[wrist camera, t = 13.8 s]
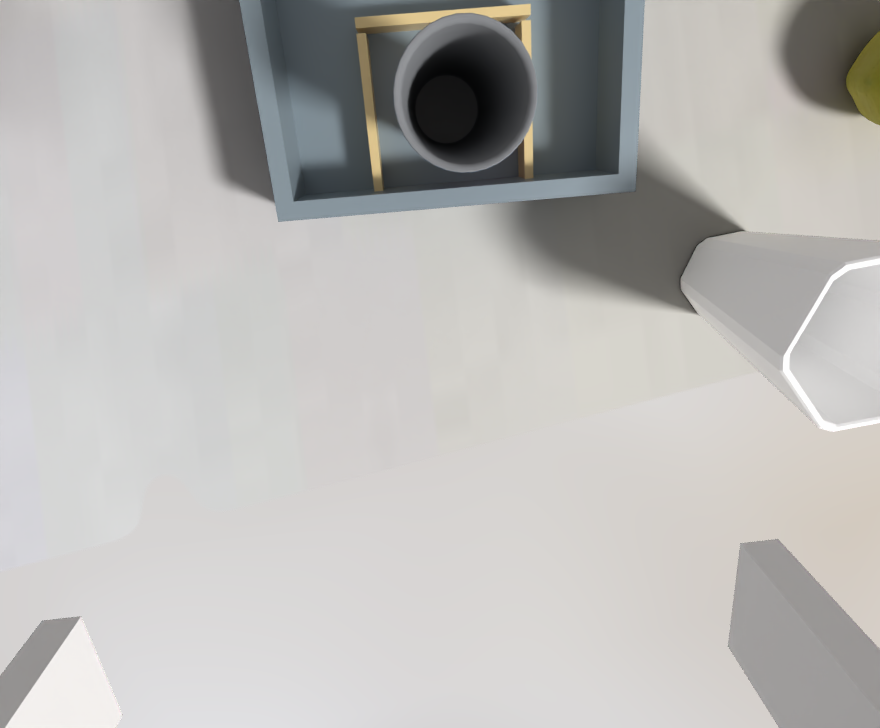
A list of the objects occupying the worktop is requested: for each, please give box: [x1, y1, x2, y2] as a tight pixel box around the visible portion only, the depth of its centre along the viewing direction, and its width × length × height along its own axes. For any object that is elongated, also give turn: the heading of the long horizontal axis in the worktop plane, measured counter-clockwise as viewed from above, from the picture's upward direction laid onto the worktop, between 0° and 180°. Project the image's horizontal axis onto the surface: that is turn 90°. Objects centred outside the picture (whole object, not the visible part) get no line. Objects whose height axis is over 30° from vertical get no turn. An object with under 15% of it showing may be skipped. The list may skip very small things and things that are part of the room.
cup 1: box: [393, 13, 538, 173], centre depth 34 cm, size 7×7×15 cm
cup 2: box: [681, 231, 880, 432], centre depth 40 cm, size 11×10×17 cm
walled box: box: [239, 0, 645, 222], centre depth 38 cm, size 20×24×6 cm
